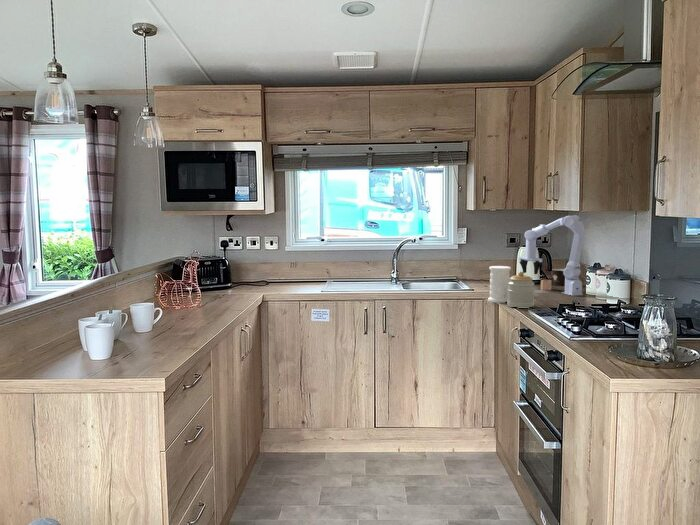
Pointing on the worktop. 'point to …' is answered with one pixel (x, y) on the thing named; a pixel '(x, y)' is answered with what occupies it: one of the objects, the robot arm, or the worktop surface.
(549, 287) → the pot terracotta
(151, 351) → the worktop surface
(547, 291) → the coaster
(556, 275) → the coffee mug
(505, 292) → the decorative container
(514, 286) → the jar
